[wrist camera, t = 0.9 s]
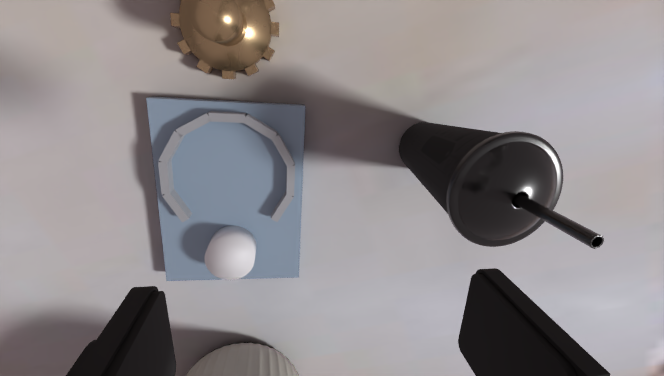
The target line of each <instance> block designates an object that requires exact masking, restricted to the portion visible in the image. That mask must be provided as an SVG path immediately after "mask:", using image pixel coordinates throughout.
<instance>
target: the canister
mask: <svg viewBox="0 0 664 376" xmlns="http://www.w3.org/2000/svg"><path fill="white" fill-rule="evenodd" d="M186 376H299V374H298V372H297V371H296V369H295V367H294V365H293V364H292V363H291V362H290V361H289V359H288V358H287V357H285V356H284V355H283V354H282V353H281V352H278V351H276V350H275V349H274V348H269V347H268V346H267V345H265V346H264V345H260V344H259V343H258V344H253V343H251V342H250V343H239V344H232V345H229V346H223V347H222V348H220V349H215V350H214V351H213V352H211V353H208V354H207V355H205V356H204V357H203V358H201V359H200V360H199V361H198V362H197V363H196V364H195V365H194V366H193V367H192V368H191V369H190V370H189V372H188V373H187V375H186Z"/></svg>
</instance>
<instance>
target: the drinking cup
mask: <svg viewBox="0 0 664 376" xmlns="http://www.w3.org/2000/svg"><path fill="white" fill-rule="evenodd" d="M399 153H400V157H401V159H402V161H403V162H404V163H405V164H406V166H407V167H408V168H409V169H410V170H411V171H412V173H413V174H414V175H415V176H416V177H417V178H418V179H419V181H420V182H421V183H422V184H423V185H424V186H425V188H426V189H427V190H428V191H429V192H430V193H431V195H432V196H433V197H434V198H435V199H436V200H437V202H438V203H439V204H440V205H441V206H442V207H443V208H444V210H445V211H446V212H447V213H448V214H449V217H450V220H451V222H452V224H453V225H454V227H455V228H456V230H457V231H458V232H459V233H460V234H461V235H462V236H464V237H465V238H466V239H468V240H469V241H471V242H473V243H475V244H479V245H483V246H490V247H496V246H504V245H508V244H512V243H515V242H517V241H519V240H521V239H523V238H525V237H527V236H528V235H530V234H531V233H533V232H534V231H535V230H536V229H538V228H539V227H540V226H541V225H542V224H543V223H544V222H545V221H546V222H547V223H549V224H551V225H553V226H554V227H556V228H558V229H560V230H561V231H563V232H565V233H567V234H568V235H570V236H572V237H574V238H575V239H577V240H579V241H581V242H582V243H584V244H586V245H588V246H589V247H591V248H594V249H595V248H598V247H600V246H601V245H602V244H603V241H604V238H603V236H601V235H599V234H597V233H595V232H593V231H591V230H590V229H588V228H586V227H584V226H582V225H580V224H578V223H576V222H574V221H572V220H570V219H568V218H566V217H564V216H562V215H561V214H559V213H557V212H555V211H553V209H554V208H555V206H556V204H557V201H558V199H559V196H560V193H561V189H562V184H563V169H562V164H561V161H560V158H559V156H558V154H557V152H556V151H555V149H554V148H553V147H552V146H551V145H550V144H549V143H548V142H547V141H546V140H544V139H543V138H541V137H539V136H537V135H534V134H530V133H526V132H518V131H515V132H505V133H497V132H490V131H483V130H476V129H469V128H462V127H455V126H448V125H441V124H434V123H426V122H424V123H418V124H415V125H413V126H412V127H410V128H409V129H408V130H407V131H406V132H405V133H404V135H403V136H402V138H401V141H400V145H399Z"/></svg>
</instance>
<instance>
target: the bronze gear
mask: <svg viewBox="0 0 664 376" xmlns="http://www.w3.org/2000/svg"><path fill="white" fill-rule="evenodd" d="M274 9H275V5H274V3H273V1H272V0H181V4H180V9H179V14H178V13H170V15H171V26H173V27H176V28H180V29H181V32H182V35H183V38H184V40H182V41H180V42H178V43H177V44H178V45H179V47H180V49H181V50H182V52H183V53H184V54H186V55H190V54H192V53H193V54H194V55H195V56H196V57H197V58H199V59H200V61H199V63H198V65H197V66H196V67H198V68H199V69H201V70H202V71H204V72H205V73H211V71H212V69H213V68H215V69H219V70H222V78H223V79H236V71H240V70H244V69H245V71H246V73H247V74H248V76H251V75H252V74H254V73H256V72H258V71H259V70H258V68H257V66H256V63H257V62H258V61H260V59H261V58H262V57H264V58H266V59H267V60H269V61H270V59H271V57H272V56H273V54H274V52H275V51H274V50H273V49H271V48H270V47H269V44H270V40H271V36H276V37H279V23H276V22H271V20H270V15H269V12H270V11H272V10H274Z"/></svg>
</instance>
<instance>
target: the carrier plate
mask: <svg viewBox="0 0 664 376" xmlns="http://www.w3.org/2000/svg"><path fill="white" fill-rule="evenodd" d="M146 100H147V109H148V118H149V127H150V136H151V145H152V154H153V163H154V172H155V181H156V190H157V199H158V208H159V217H160V226H161V235H162V244H163V253H164V262H165V271H166V280H167V281H181V280H219V279H224V280H236V279H256V278H294V277H299V259H300V233H301V207H302V182H303V156H304V131H305V105H299V104H280V103H262V102H243V101H225V100H207V99H188V98H170V97H148V98H146Z"/></svg>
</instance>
